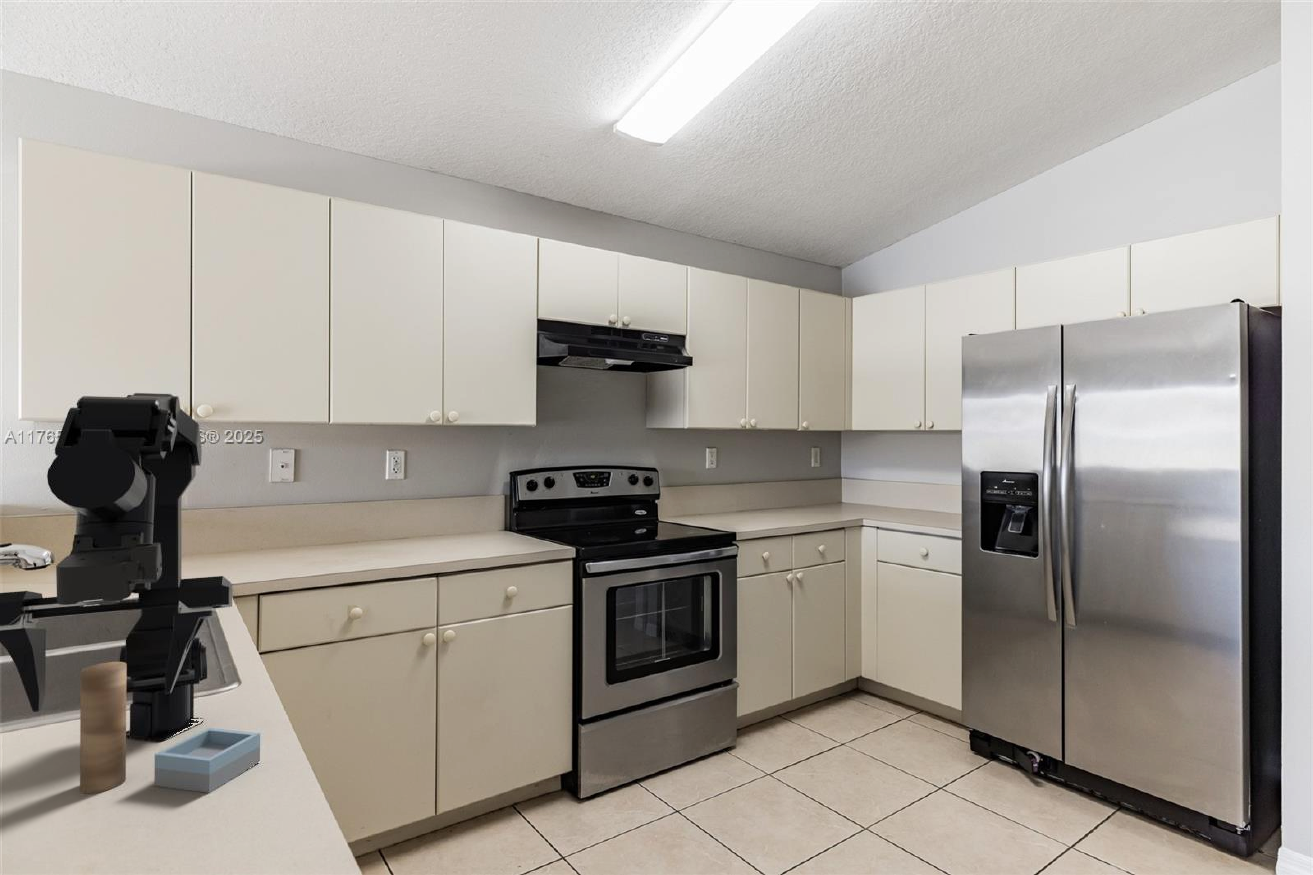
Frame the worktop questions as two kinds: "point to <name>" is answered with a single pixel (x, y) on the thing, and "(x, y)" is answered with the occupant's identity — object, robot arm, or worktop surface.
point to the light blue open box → (207, 759)
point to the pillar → (103, 727)
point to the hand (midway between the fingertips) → (105, 702)
